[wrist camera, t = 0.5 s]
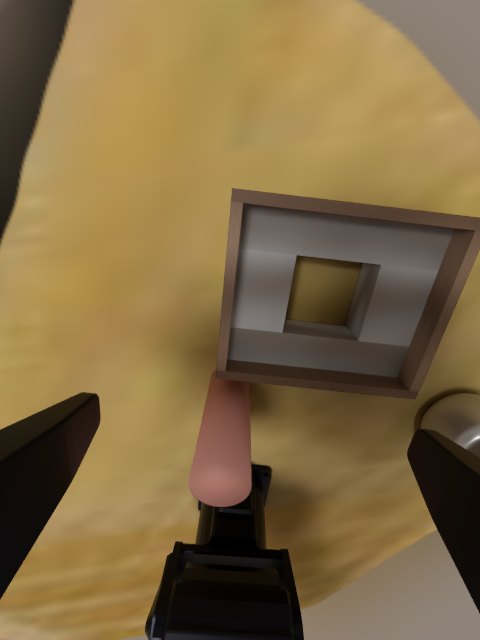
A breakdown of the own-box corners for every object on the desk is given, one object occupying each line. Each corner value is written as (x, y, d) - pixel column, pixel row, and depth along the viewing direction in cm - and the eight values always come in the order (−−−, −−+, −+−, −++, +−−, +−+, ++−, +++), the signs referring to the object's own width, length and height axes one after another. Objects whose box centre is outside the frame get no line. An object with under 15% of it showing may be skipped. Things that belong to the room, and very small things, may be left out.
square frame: (386, 366, 21) (415, 399, 18) (220, 348, 21) (215, 378, 17) (439, 217, 17) (492, 219, 14) (235, 192, 17) (232, 188, 13)
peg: (247, 400, 23) (247, 509, 15) (209, 396, 23) (187, 503, 14) (251, 367, 22) (255, 466, 13) (211, 363, 22) (190, 459, 13)
